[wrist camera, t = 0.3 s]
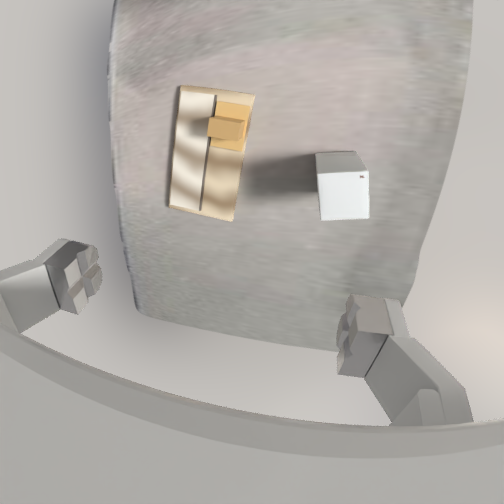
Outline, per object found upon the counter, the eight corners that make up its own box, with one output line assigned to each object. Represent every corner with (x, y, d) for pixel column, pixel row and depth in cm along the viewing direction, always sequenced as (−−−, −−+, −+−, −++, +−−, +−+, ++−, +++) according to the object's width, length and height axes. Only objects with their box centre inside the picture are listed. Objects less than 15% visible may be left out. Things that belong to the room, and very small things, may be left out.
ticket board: (183, 85, 48) (179, 85, 46) (255, 94, 47) (253, 95, 46) (170, 205, 60) (167, 208, 59) (232, 219, 60) (231, 223, 58)
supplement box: (314, 152, 50) (316, 171, 40) (356, 150, 49) (370, 169, 38) (317, 192, 54) (319, 221, 43) (358, 190, 52) (370, 219, 42)
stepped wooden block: (218, 100, 47) (209, 102, 43) (250, 106, 47) (245, 108, 43) (211, 145, 51) (203, 150, 47) (242, 150, 51) (236, 156, 47)
